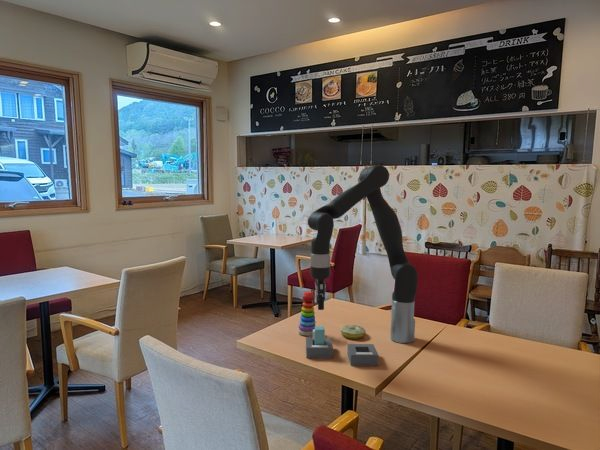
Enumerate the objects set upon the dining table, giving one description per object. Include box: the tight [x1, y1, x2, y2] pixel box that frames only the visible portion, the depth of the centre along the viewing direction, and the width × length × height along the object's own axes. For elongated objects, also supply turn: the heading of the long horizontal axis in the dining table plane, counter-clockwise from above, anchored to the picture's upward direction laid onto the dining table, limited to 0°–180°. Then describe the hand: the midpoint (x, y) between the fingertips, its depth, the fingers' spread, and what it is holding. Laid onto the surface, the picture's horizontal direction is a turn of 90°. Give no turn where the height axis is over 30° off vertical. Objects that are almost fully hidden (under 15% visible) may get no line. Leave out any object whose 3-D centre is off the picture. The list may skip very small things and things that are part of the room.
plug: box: [312, 325, 326, 345], centre depth 158 cm, size 4×4×10 cm
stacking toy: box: [297, 290, 317, 337], centre depth 178 cm, size 8×8×19 cm
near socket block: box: [346, 343, 380, 367], centre depth 153 cm, size 10×10×4 cm
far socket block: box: [305, 337, 334, 359], centre depth 159 cm, size 10×10×4 cm
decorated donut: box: [340, 324, 367, 340], centre depth 177 cm, size 10×11×4 cm
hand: (320, 306), depth 157 cm, fingers open, 8 cm apart
